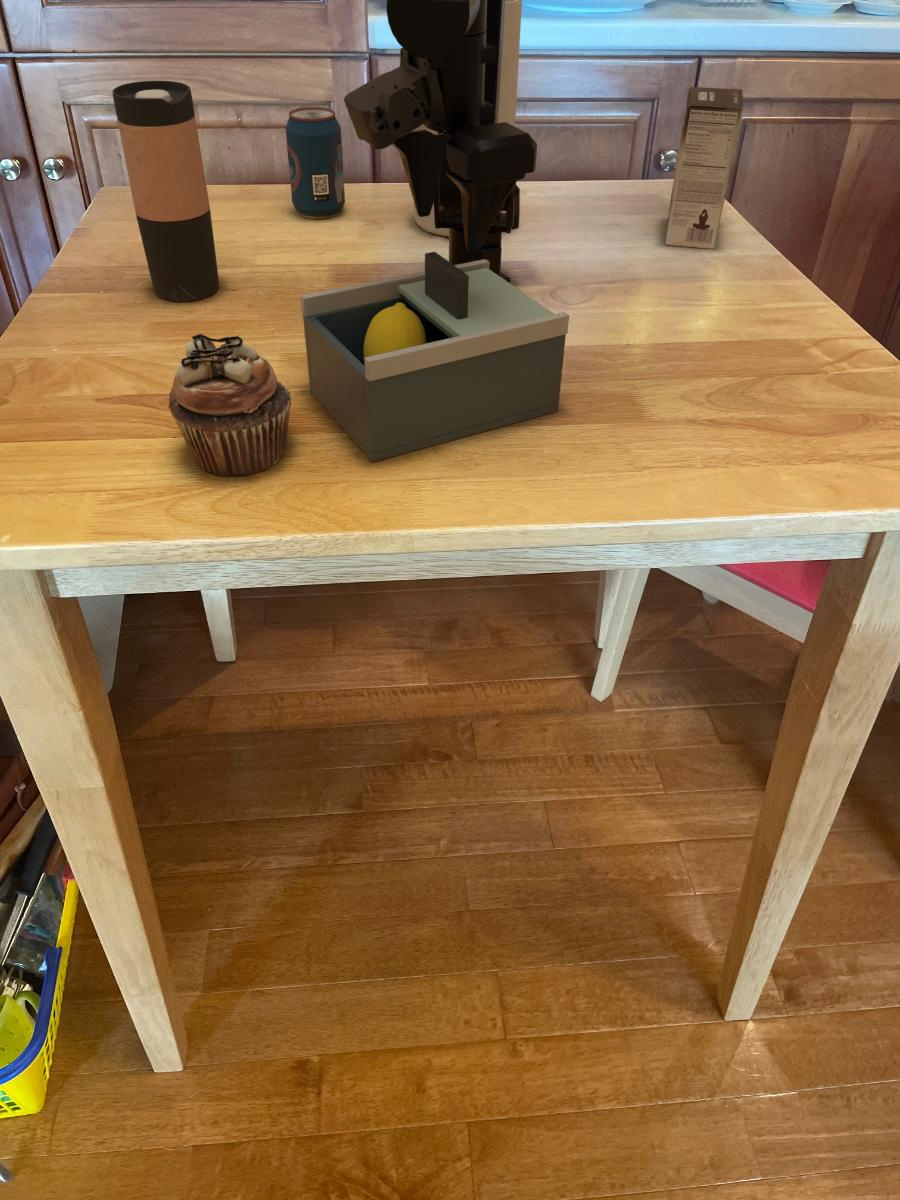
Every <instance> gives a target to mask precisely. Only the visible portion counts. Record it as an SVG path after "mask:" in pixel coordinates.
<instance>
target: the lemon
mask: <svg viewBox="0 0 900 1200" xmlns="http://www.w3.org/2000/svg"><path fill="white" fill-rule="evenodd" d="M422 344H426V334H425V330H424V326H423V324H422V322H421V320H420V319H419V317H418V316H417V315H416V314H415V313H414V312H412V311H411V310H409V309H408V308H407V307H406V306H405V304H403V303H396V304H395V305H394V306H392V307H388V308H386V309H384V310H382V311H380V312H379V313H378V314H377V315H376V316H375V317H374V318H373V319H372V321H371V323H370V325H369V327H368V330H367V333H366V337H365V341H364V358H366V357H370V356H374V355H379V354H383V353H388V352H392V351H396V350H401V349H405V348H409V347H414V346H418V345H422ZM364 362H365V361H364Z"/></svg>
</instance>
